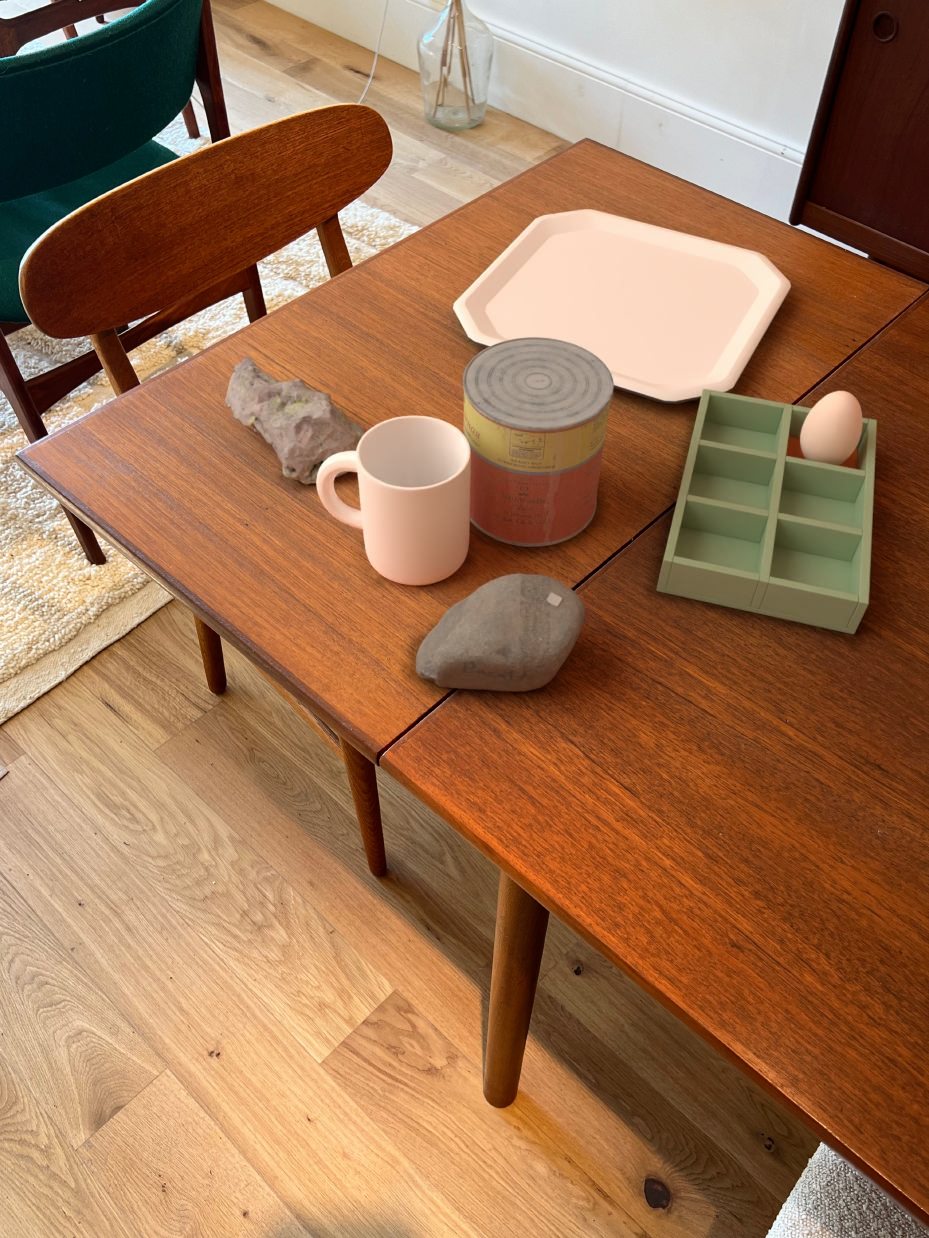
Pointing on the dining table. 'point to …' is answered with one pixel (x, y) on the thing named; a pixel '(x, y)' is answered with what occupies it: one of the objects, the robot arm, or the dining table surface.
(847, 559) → the carton
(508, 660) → the stone
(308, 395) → the rock
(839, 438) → the egg
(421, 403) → the dining table surface
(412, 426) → the mug
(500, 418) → the canned food
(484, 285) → the plate
